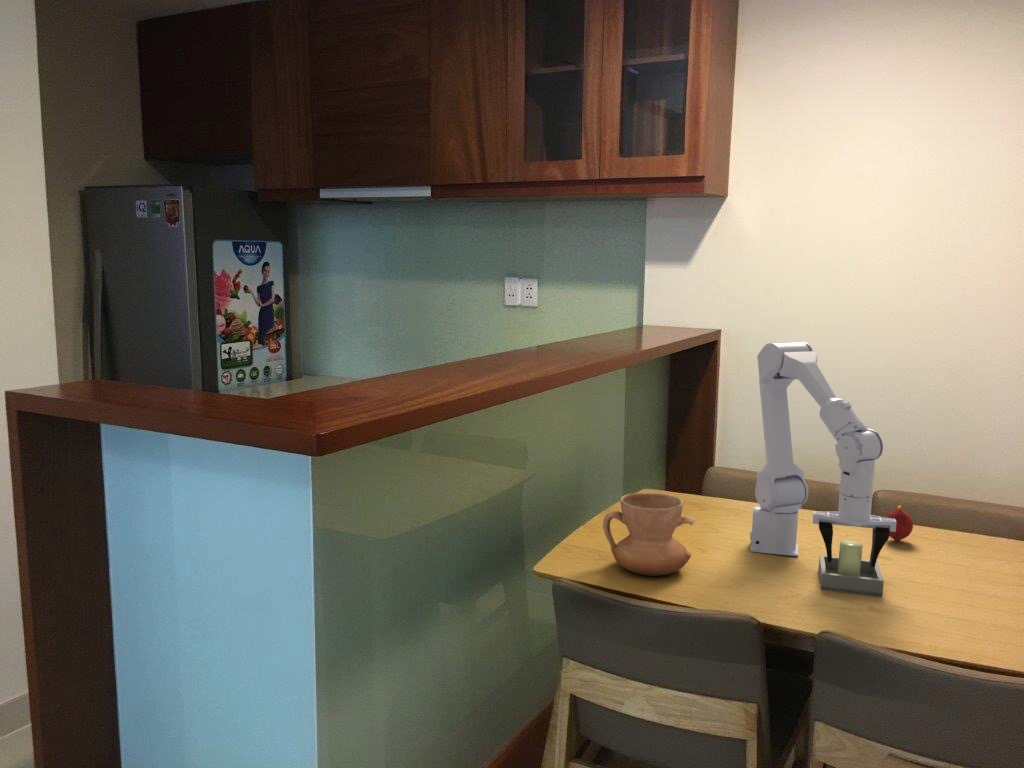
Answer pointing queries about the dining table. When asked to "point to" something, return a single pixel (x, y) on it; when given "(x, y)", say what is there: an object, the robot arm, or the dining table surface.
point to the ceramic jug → (649, 534)
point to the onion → (900, 524)
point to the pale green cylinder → (850, 558)
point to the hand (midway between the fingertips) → (850, 562)
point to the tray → (850, 578)
